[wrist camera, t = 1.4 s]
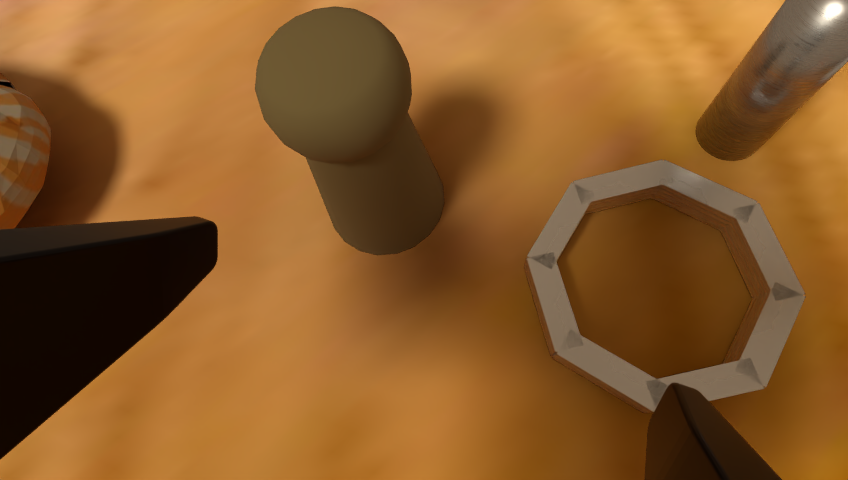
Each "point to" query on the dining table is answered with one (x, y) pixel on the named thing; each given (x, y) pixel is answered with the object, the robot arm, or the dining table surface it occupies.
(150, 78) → the dining table surface
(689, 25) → the dining table surface
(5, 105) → the nautilus
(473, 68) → the dining table surface
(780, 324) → the octagon frame
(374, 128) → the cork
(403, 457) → the dining table surface
